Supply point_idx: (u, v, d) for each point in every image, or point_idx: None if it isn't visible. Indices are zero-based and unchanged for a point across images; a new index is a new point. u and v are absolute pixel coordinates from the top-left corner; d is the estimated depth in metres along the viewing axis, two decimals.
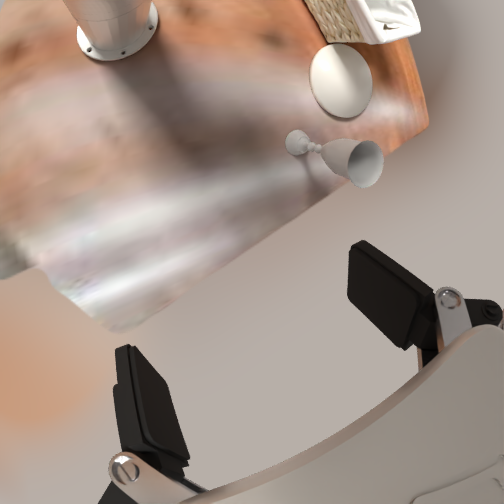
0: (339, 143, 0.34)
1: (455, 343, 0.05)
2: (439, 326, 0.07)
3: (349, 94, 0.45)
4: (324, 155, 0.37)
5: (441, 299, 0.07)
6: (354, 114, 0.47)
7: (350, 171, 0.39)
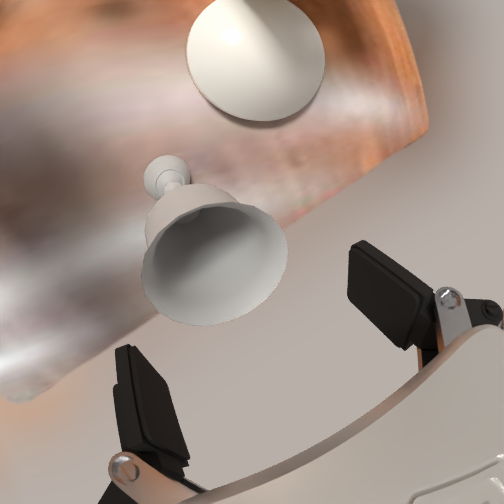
0: (160, 206, 0.14)
1: (455, 343, 0.05)
2: (439, 326, 0.07)
3: (272, 77, 0.24)
4: None
5: (441, 299, 0.07)
6: (286, 113, 0.27)
7: (222, 257, 0.18)
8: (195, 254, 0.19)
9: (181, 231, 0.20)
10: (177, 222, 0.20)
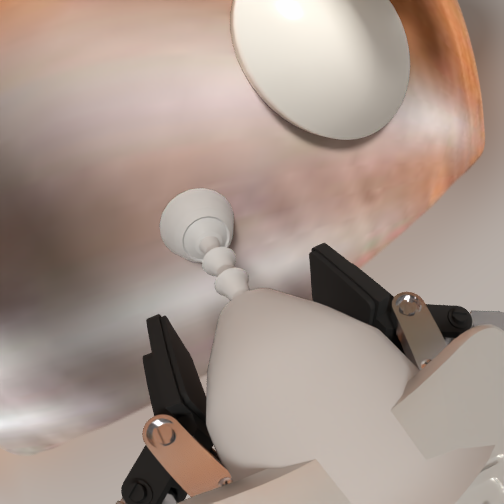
0: (263, 421, 0.05)
1: (455, 343, 0.05)
2: (403, 337, 0.07)
3: (356, 76, 0.15)
4: None
5: (399, 307, 0.08)
6: (369, 130, 0.18)
7: None
8: None
9: None
10: None
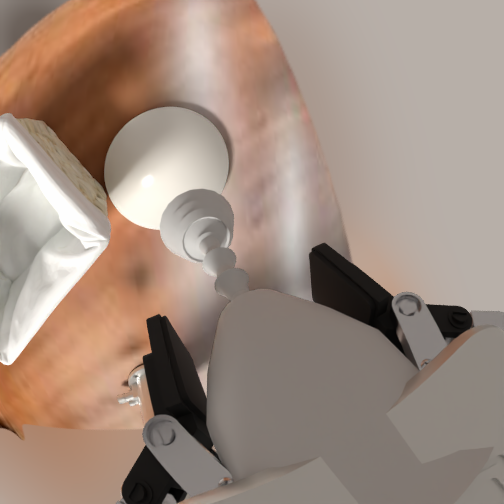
0: (263, 422, 0.05)
1: (455, 343, 0.05)
2: (403, 337, 0.07)
3: (190, 158, 0.32)
4: None
5: (399, 307, 0.08)
6: (221, 142, 0.32)
7: None
8: None
9: None
10: None
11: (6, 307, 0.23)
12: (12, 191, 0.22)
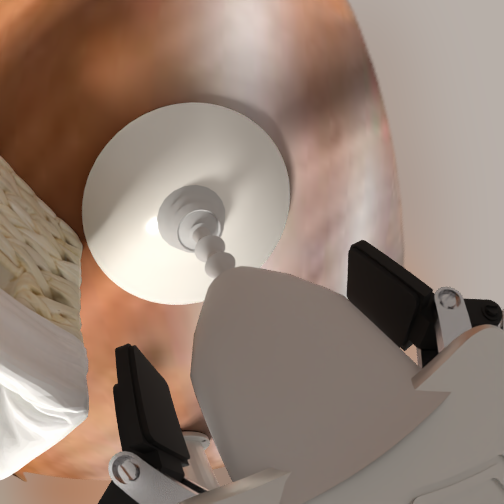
0: (234, 360, 0.06)
1: (455, 343, 0.05)
2: (439, 326, 0.07)
3: (230, 195, 0.20)
4: None
5: (441, 299, 0.07)
6: (281, 168, 0.20)
7: None
8: None
9: None
10: None
11: None
12: None
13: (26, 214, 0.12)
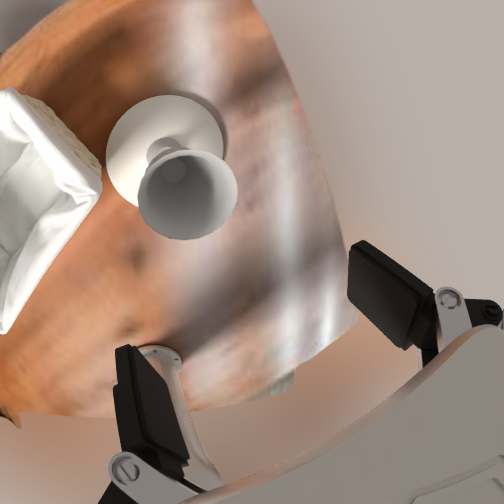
0: (154, 160, 0.20)
1: (455, 343, 0.05)
2: (439, 326, 0.07)
3: (186, 143, 0.33)
4: (148, 181, 0.23)
5: (441, 299, 0.07)
6: (216, 128, 0.34)
7: (198, 202, 0.24)
8: (179, 202, 0.24)
9: (171, 187, 0.26)
10: (168, 181, 0.26)
11: (4, 278, 0.24)
12: (12, 167, 0.23)
13: (75, 143, 0.25)
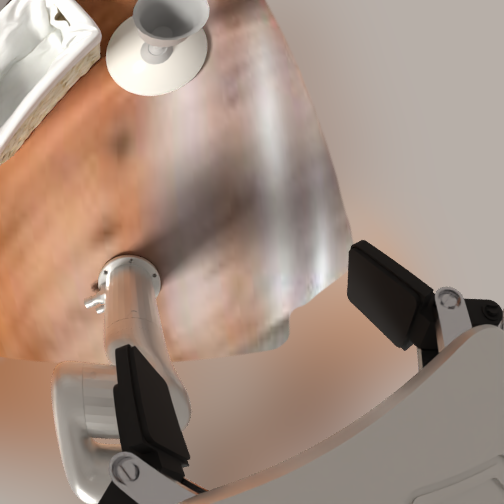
0: None
1: (455, 343, 0.05)
2: (439, 326, 0.07)
3: None
4: None
5: (441, 299, 0.07)
6: (202, 32, 0.31)
7: (179, 41, 0.22)
8: None
9: None
10: None
11: None
12: (25, 57, 0.20)
13: None
